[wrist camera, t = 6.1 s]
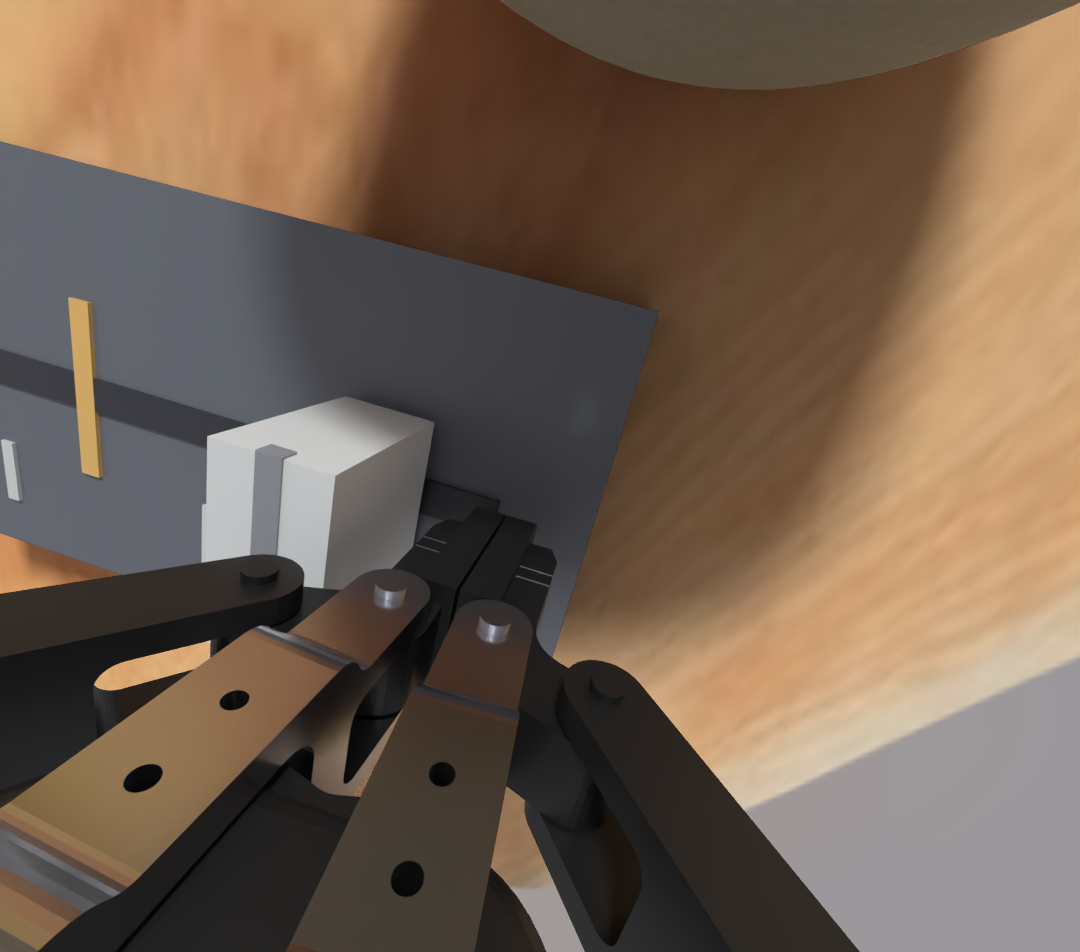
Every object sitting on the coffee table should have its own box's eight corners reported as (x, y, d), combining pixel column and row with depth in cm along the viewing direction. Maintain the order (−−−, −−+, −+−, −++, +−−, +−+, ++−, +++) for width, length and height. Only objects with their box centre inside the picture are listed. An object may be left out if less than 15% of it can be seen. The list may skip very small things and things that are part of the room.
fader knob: (435, 420, 13) (333, 473, 8) (408, 573, 14) (311, 682, 10) (345, 394, 13) (205, 434, 9) (328, 548, 14) (202, 644, 10)
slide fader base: (655, 311, 14) (659, 311, 11) (550, 653, 18) (533, 719, 15) (-21, 137, 16) (-166, 98, 13) (22, 479, 20) (-82, 507, 17)
